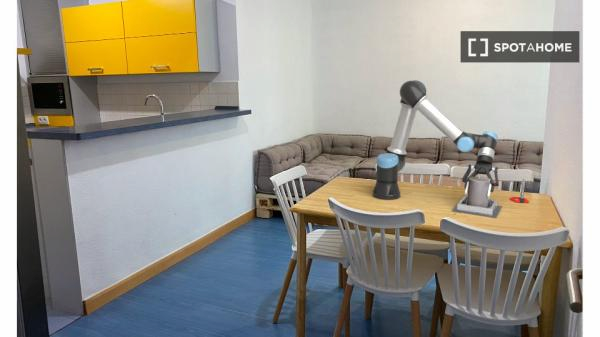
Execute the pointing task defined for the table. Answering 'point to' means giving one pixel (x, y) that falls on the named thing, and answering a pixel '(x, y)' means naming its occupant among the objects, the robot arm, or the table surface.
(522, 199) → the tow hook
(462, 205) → the square socket
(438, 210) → the table surface
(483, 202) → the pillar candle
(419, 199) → the table surface
